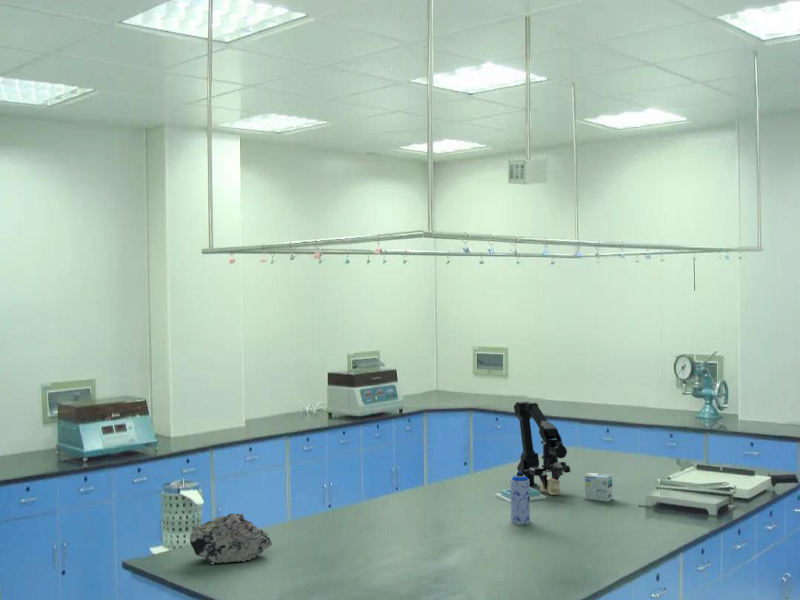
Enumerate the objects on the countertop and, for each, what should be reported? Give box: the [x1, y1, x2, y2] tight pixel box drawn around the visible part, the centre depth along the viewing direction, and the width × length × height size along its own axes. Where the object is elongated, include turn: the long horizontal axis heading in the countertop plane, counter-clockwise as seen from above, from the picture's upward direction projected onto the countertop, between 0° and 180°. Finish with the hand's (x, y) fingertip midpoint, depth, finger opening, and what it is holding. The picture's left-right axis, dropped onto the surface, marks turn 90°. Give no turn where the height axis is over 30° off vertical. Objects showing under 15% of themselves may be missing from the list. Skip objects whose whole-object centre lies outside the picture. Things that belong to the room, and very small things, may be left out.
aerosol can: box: [510, 471, 531, 526], centre depth 333 cm, size 8×8×20 cm
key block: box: [539, 476, 561, 496], centre depth 380 cm, size 10×4×6 cm, turn 21°
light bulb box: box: [584, 472, 614, 502], centre depth 368 cm, size 11×7×11 cm, turn 58°
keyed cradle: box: [494, 486, 547, 504], centre depth 373 cm, size 14×18×3 cm
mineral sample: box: [189, 513, 273, 565], centre depth 292 cm, size 27×19×15 cm
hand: (549, 488), depth 380 cm, fingers closed on key block, 4 cm apart
